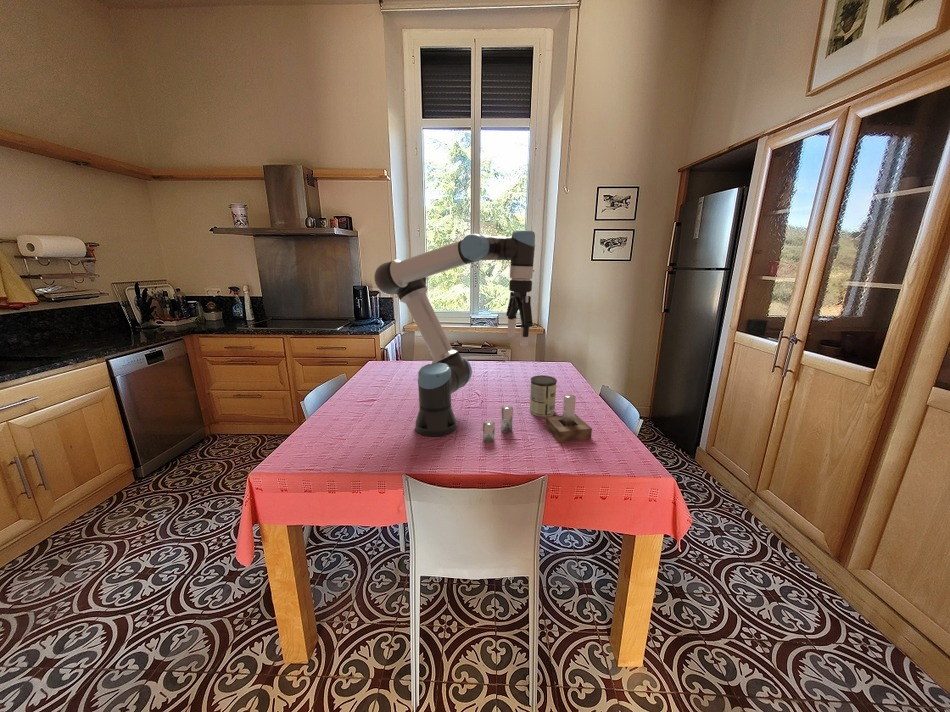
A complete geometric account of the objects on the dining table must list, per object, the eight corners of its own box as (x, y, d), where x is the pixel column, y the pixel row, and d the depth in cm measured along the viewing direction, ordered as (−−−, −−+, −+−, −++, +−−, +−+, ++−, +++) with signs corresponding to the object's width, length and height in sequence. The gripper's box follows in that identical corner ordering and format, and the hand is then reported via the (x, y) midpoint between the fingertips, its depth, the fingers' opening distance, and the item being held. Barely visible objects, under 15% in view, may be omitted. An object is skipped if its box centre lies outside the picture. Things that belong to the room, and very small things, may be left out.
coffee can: (533, 405, 151) (534, 373, 148) (557, 409, 147) (559, 377, 144) (526, 414, 142) (527, 381, 139) (551, 419, 138) (553, 385, 135)
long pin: (564, 435, 125) (567, 399, 121) (559, 430, 129) (562, 394, 125) (574, 434, 126) (577, 398, 122) (569, 429, 130) (572, 393, 126)
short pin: (484, 442, 120) (484, 426, 119) (481, 437, 124) (481, 421, 122) (495, 441, 121) (496, 425, 119) (492, 436, 125) (493, 420, 123)
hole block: (558, 442, 120) (559, 431, 119) (545, 426, 132) (545, 416, 131) (591, 438, 123) (592, 428, 122) (574, 423, 134) (575, 414, 133)
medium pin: (502, 433, 127) (503, 410, 124) (499, 428, 130) (500, 406, 128) (513, 432, 127) (514, 409, 125) (510, 427, 131) (510, 405, 129)
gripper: (546, 282, 107) (540, 350, 113) (519, 277, 130) (515, 333, 136) (523, 282, 105) (518, 350, 111) (499, 276, 128) (497, 333, 134)
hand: (517, 341), depth 124 cm, fingers open, 13 cm apart
